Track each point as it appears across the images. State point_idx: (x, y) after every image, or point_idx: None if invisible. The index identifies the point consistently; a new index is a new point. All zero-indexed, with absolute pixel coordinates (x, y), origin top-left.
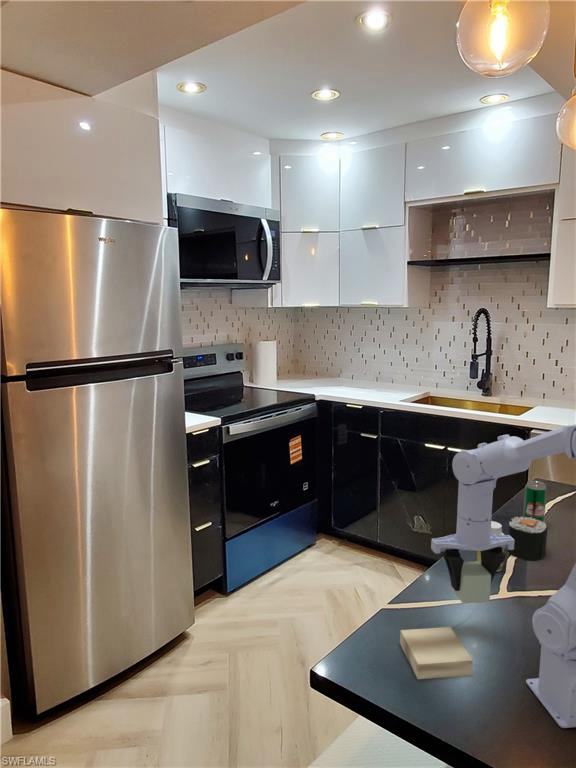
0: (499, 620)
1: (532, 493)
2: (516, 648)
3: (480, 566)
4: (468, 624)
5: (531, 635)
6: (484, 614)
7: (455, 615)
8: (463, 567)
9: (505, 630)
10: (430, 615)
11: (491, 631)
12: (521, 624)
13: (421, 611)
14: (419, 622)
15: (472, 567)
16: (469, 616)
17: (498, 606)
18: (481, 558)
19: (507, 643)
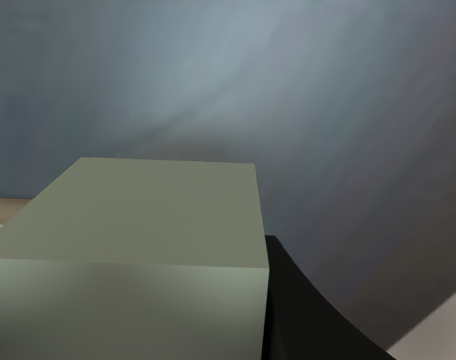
0: (348, 118)
1: None
2: (304, 264)
3: (235, 353)
4: (211, 126)
5: (400, 216)
6: (313, 68)
7: (184, 57)
8: (63, 344)
9: (330, 179)
10: (75, 41)
11: (275, 177)
12: (415, 154)
13: (41, 3)
14: (17, 85)
15: (150, 354)
16: (241, 73)
17: (416, 14)
18: (282, 352)
19: (291, 240)
